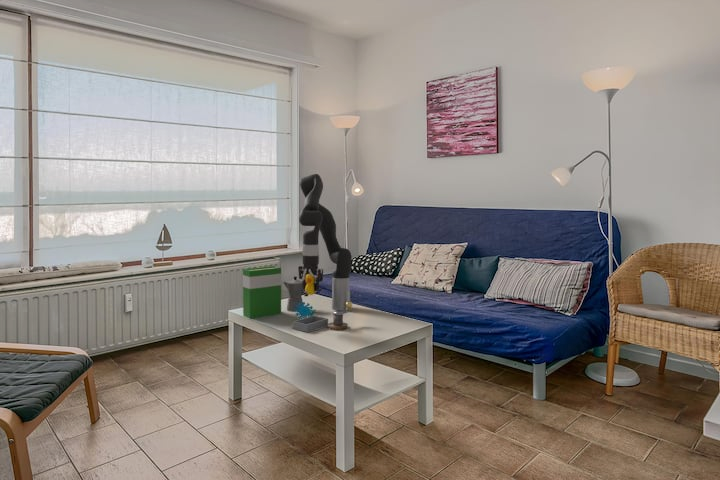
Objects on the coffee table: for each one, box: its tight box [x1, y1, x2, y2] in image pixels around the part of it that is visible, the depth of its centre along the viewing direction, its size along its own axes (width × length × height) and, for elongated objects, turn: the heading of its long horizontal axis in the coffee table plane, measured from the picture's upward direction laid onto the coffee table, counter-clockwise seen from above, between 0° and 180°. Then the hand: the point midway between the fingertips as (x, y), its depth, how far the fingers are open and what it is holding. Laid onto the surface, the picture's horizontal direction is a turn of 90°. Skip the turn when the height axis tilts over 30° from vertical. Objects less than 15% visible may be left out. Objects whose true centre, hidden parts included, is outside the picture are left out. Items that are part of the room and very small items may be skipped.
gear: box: [295, 301, 317, 319], centre depth 242 cm, size 11×6×10 cm
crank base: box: [327, 314, 349, 331], centre depth 224 cm, size 9×9×6 cm
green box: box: [242, 265, 282, 320], centre depth 245 cm, size 18×7×24 cm, turn 130°
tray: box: [292, 315, 329, 333], centre depth 224 cm, size 14×9×4 cm, turn 142°
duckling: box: [304, 274, 317, 296], centre depth 222 cm, size 11×5×10 cm, turn 173°
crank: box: [332, 301, 353, 316], centre depth 227 cm, size 12×4×4 cm, turn 142°
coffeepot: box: [282, 276, 309, 313], centre depth 257 cm, size 15×9×18 cm, turn 87°
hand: (310, 289), depth 223 cm, fingers closed on duckling, 6 cm apart
